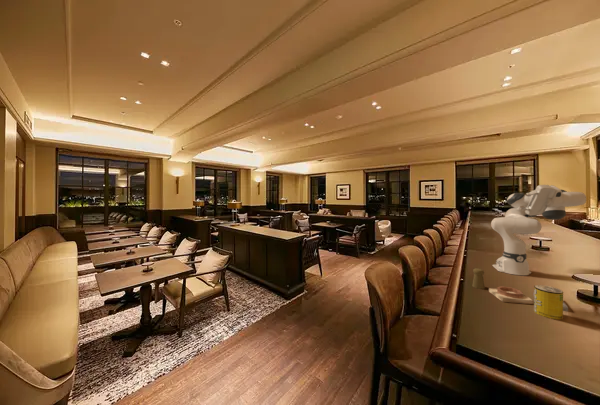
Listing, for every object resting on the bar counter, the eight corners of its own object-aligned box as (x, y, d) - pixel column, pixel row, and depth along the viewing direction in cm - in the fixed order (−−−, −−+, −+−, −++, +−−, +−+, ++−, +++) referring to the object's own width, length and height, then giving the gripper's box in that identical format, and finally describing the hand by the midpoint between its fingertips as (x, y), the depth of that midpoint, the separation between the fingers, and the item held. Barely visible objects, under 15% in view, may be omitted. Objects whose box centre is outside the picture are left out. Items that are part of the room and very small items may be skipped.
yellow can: (553, 311, 108) (553, 286, 107) (568, 321, 99) (569, 294, 99) (529, 308, 110) (529, 284, 110) (542, 317, 102) (542, 291, 102)
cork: (487, 289, 133) (487, 270, 133) (475, 288, 134) (475, 270, 134) (481, 285, 139) (481, 267, 139) (470, 284, 140) (470, 267, 140)
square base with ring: (488, 291, 130) (488, 284, 130) (516, 293, 127) (516, 286, 127) (502, 301, 118) (502, 294, 118) (533, 304, 114) (533, 296, 114)
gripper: (539, 211, 143) (513, 212, 146) (554, 182, 132) (526, 184, 135) (546, 217, 138) (520, 218, 140) (563, 188, 127) (534, 189, 129)
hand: (523, 201), depth 137 cm, fingers open, 8 cm apart
